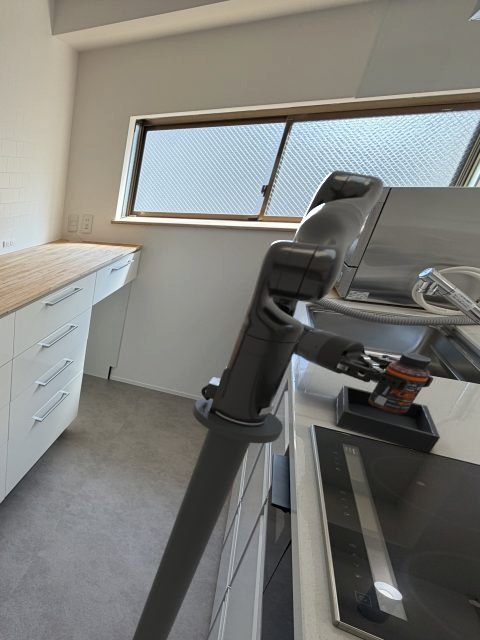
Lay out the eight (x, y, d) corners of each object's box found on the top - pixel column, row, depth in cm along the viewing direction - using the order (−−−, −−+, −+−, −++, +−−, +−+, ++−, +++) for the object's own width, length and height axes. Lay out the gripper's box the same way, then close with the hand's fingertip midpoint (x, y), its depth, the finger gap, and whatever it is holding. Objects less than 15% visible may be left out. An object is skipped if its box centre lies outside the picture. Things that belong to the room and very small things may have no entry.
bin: (336, 425, 83) (343, 410, 81) (336, 398, 94) (343, 385, 92) (429, 453, 76) (440, 437, 74) (418, 420, 86) (427, 405, 85)
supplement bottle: (379, 413, 81) (410, 361, 76) (360, 398, 86) (387, 348, 81) (414, 416, 80) (447, 364, 75) (392, 401, 85) (422, 351, 80)
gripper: (312, 336, 89) (402, 370, 75) (359, 332, 93) (455, 363, 78) (297, 368, 92) (381, 405, 78) (344, 363, 96) (432, 397, 82)
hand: (418, 384), depth 78 cm, fingers closed on supplement bottle, 6 cm apart
